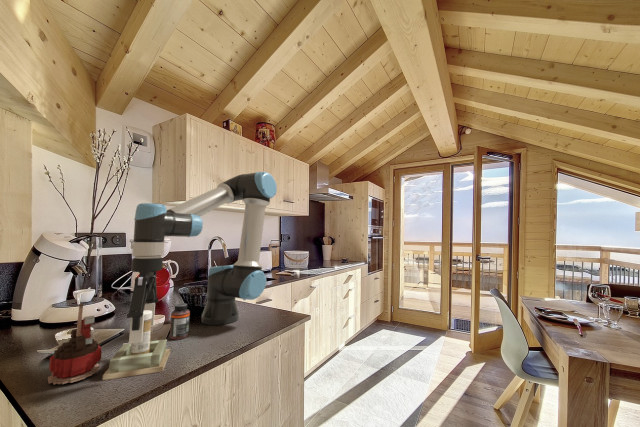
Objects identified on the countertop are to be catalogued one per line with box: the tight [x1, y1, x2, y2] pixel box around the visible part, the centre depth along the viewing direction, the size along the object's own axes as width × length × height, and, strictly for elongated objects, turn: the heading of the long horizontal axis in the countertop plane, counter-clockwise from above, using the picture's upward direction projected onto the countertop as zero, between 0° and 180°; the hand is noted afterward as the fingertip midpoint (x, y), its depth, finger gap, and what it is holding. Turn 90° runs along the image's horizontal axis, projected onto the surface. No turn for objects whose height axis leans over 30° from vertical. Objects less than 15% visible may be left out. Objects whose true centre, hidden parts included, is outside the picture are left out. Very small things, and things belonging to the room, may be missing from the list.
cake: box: [47, 303, 103, 385], centre depth 67 cm, size 11×9×18 cm
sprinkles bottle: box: [130, 310, 152, 355], centre depth 72 cm, size 5×5×14 cm
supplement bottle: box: [169, 302, 191, 341], centre depth 94 cm, size 6×6×11 cm
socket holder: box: [102, 339, 171, 381], centre depth 73 cm, size 13×12×4 cm
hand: (142, 333), depth 74 cm, fingers open, 13 cm apart
